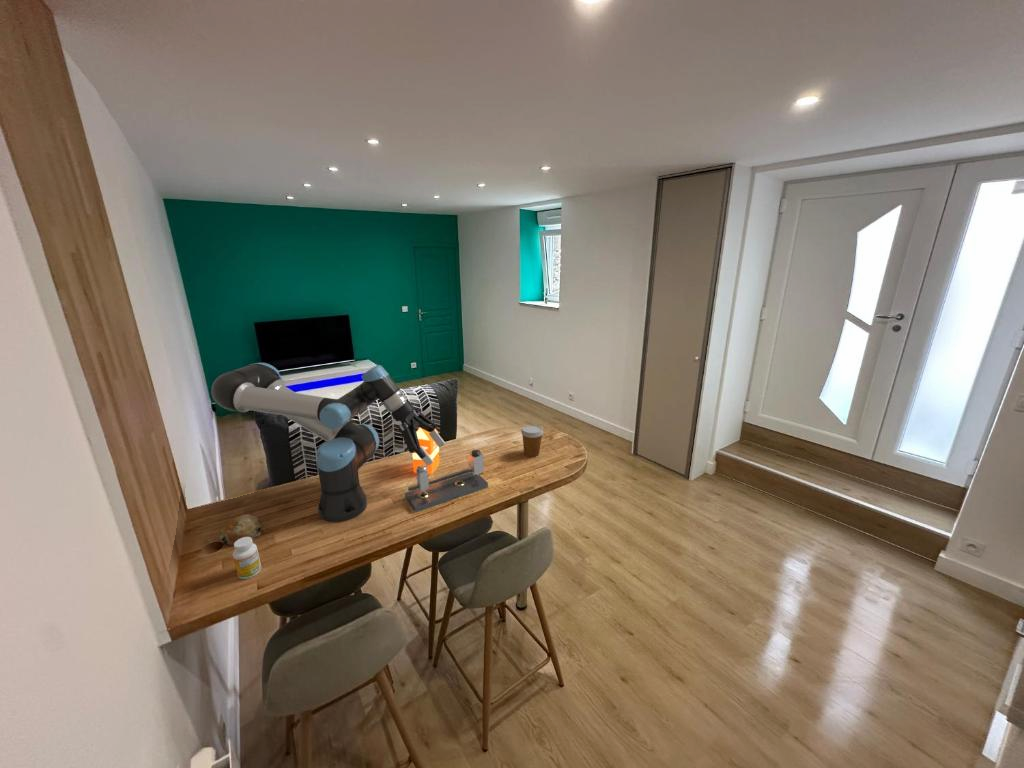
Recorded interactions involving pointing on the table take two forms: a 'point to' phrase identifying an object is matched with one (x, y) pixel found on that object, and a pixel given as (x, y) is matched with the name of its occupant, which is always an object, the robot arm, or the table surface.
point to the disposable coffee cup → (532, 439)
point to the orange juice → (429, 447)
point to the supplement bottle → (246, 558)
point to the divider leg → (476, 462)
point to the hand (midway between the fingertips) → (436, 454)
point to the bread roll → (241, 528)
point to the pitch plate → (442, 488)
